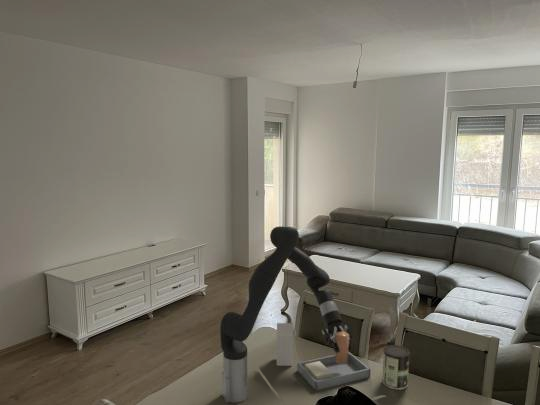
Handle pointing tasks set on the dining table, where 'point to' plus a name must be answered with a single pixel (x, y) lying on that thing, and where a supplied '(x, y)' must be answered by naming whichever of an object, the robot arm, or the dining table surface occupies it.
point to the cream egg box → (318, 370)
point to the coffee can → (395, 367)
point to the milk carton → (284, 344)
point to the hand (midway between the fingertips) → (344, 350)
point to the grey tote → (336, 371)
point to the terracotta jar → (342, 347)
